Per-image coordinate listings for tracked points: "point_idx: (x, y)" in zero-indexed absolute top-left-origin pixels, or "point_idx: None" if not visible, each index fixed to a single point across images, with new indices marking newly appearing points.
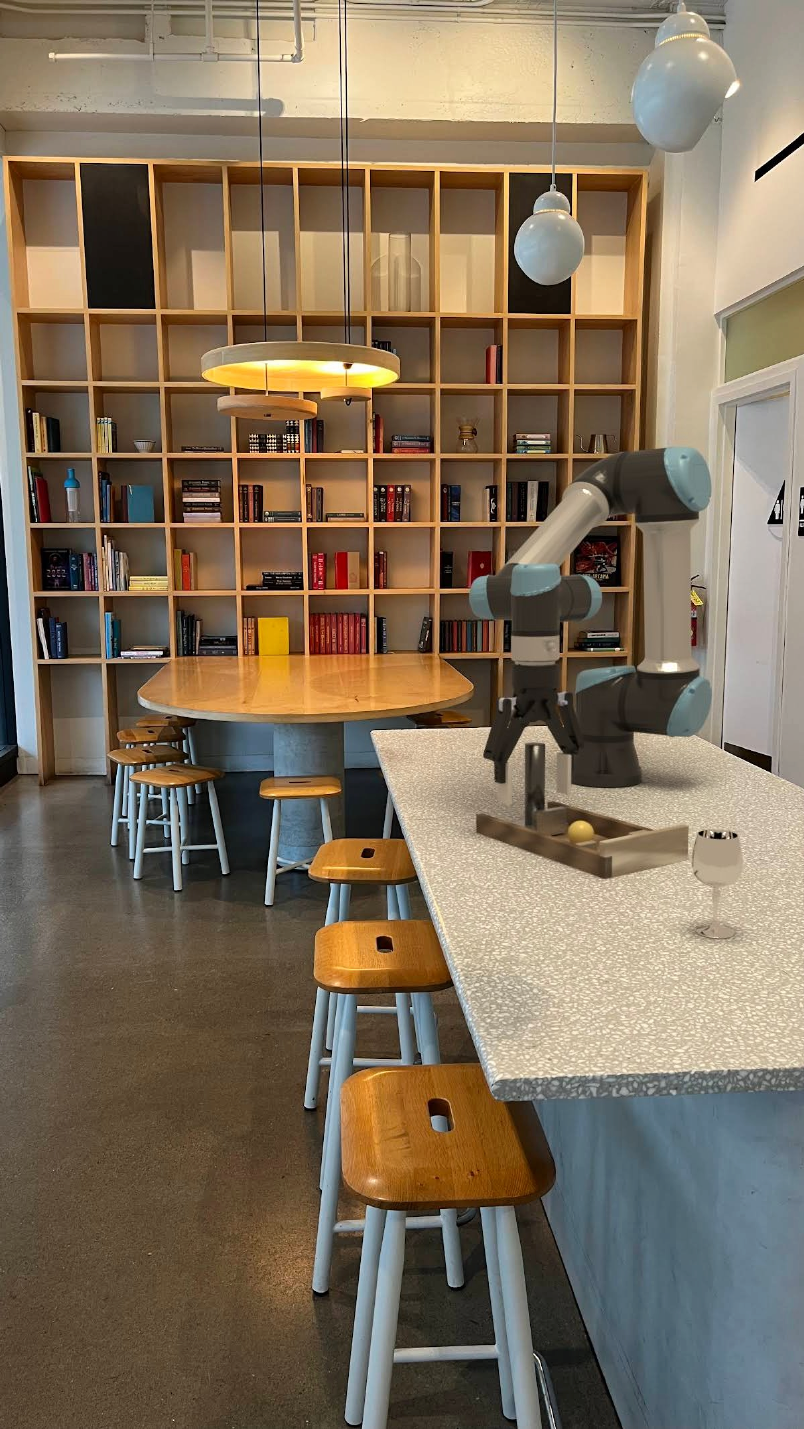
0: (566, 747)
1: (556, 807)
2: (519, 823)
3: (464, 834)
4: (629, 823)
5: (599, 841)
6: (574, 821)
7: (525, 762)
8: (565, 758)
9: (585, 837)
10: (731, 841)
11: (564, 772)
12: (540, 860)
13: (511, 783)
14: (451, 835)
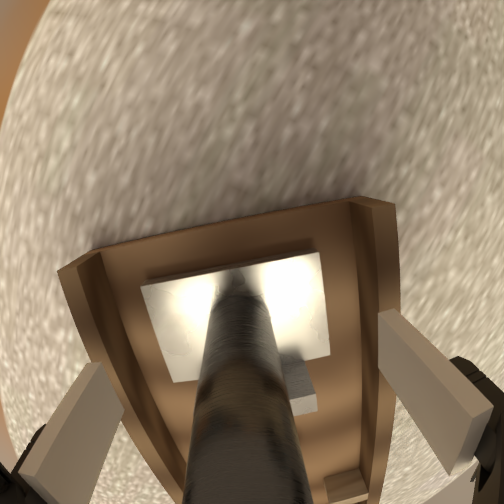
0: (478, 489)
1: (293, 399)
2: (196, 305)
3: (81, 186)
4: (383, 464)
5: (329, 426)
6: (366, 325)
7: (183, 490)
8: (445, 454)
9: None
10: None
11: (415, 405)
12: None
13: (102, 461)
14: (51, 184)
